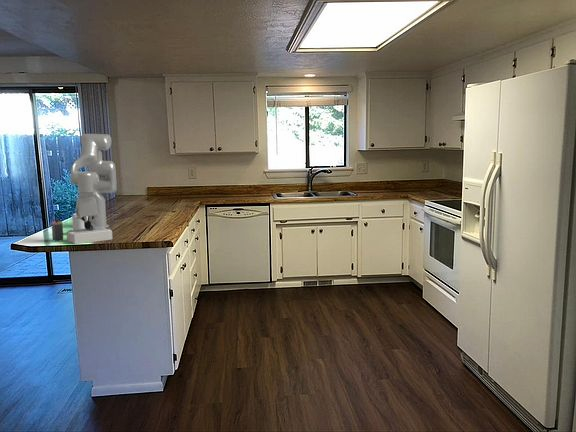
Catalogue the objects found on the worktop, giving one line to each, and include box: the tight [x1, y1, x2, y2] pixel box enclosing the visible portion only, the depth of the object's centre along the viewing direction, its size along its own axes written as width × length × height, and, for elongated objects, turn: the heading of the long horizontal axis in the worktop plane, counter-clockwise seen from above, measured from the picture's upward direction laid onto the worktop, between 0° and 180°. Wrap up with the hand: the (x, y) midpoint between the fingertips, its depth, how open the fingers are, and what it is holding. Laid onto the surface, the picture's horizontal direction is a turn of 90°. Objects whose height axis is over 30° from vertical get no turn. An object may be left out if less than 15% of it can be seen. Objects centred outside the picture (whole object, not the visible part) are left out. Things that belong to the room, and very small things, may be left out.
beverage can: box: [71, 213, 88, 230], centre depth 266 cm, size 8×8×12 cm
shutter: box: [88, 224, 104, 231], centre depth 251 cm, size 7×7×3 cm
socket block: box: [66, 227, 113, 245], centre depth 249 cm, size 12×20×6 cm, turn 134°
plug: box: [51, 218, 64, 242], centre depth 248 cm, size 5×4×12 cm
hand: (87, 228), depth 248 cm, fingers closed
